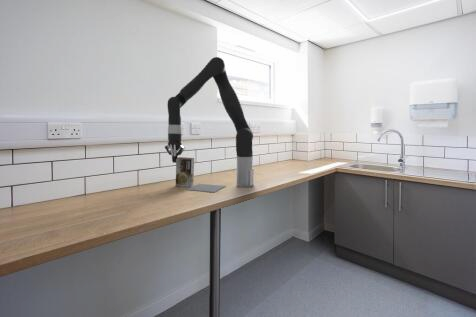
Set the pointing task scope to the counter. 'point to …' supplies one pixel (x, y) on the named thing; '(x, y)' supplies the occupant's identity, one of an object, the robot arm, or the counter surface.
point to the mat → (206, 188)
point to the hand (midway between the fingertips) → (174, 162)
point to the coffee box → (184, 172)
